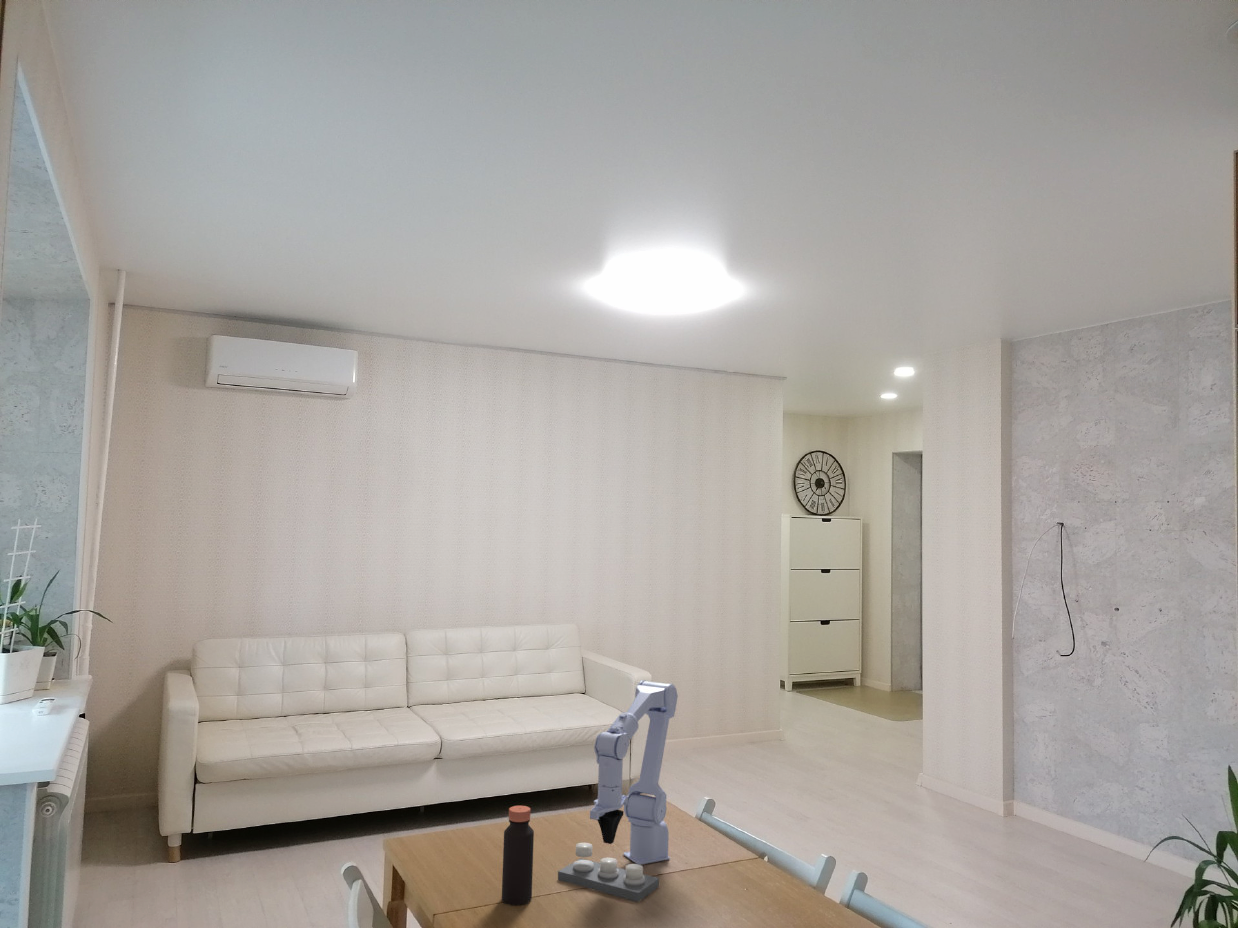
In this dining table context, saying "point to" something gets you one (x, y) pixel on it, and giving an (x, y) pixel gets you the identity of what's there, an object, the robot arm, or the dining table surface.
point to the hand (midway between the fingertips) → (608, 842)
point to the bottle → (518, 857)
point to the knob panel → (607, 880)
